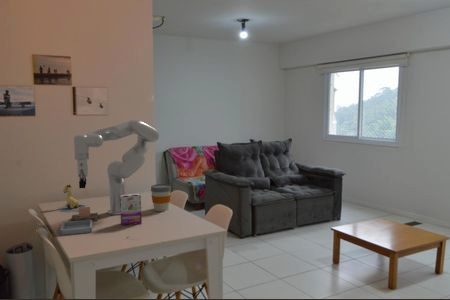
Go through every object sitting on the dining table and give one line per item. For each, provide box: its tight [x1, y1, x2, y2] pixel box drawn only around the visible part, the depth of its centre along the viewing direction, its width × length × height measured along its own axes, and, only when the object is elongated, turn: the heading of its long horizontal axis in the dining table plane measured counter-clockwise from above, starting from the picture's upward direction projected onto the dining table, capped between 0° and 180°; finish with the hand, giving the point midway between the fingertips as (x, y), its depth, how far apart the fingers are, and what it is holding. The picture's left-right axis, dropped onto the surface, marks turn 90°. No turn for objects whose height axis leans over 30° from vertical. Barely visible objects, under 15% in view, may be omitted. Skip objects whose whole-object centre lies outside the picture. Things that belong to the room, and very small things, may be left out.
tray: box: [59, 220, 94, 236], centre depth 200 cm, size 15×15×2 cm
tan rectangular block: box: [78, 206, 91, 218], centre depth 218 cm, size 6×3×7 cm, turn 108°
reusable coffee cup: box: [150, 183, 172, 212], centre depth 239 cm, size 13×13×15 cm
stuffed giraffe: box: [52, 184, 86, 213], centre depth 242 cm, size 16×18×16 cm
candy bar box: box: [120, 192, 143, 226], centre depth 210 cm, size 11×5×16 cm, turn 105°
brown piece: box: [70, 212, 99, 222], centre depth 218 cm, size 14×10×2 cm
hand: (82, 186), depth 216 cm, fingers open, 9 cm apart
